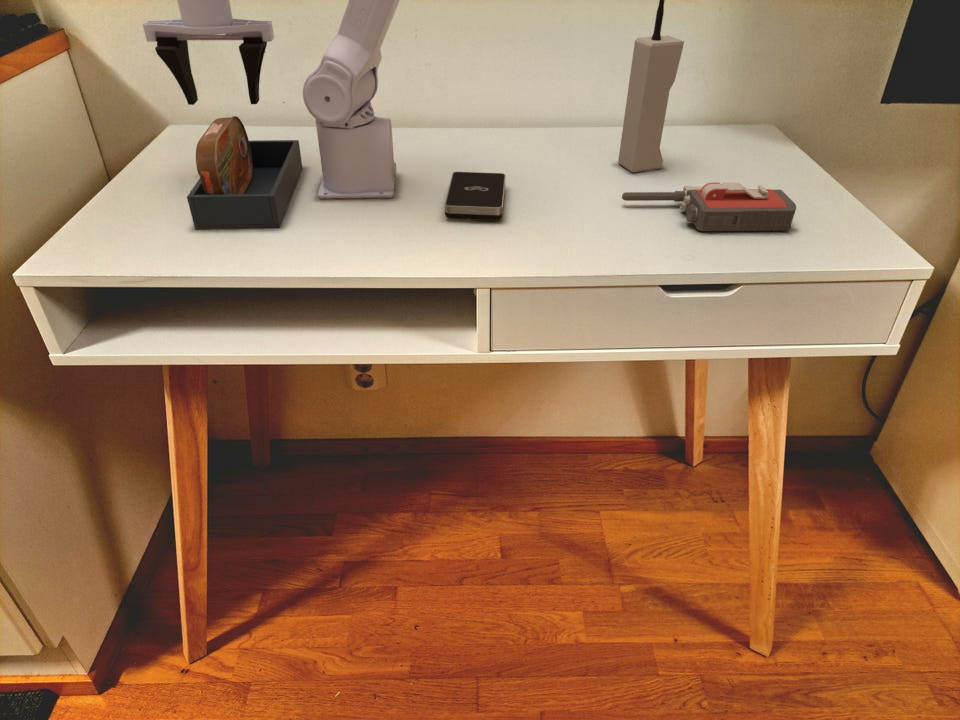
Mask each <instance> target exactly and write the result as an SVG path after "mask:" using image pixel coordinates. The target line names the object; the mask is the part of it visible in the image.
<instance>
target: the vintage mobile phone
mask: <svg viewBox="0 0 960 720" xmlns="http://www.w3.org/2000/svg"><path fill="white" fill-rule="evenodd" d="M665 1H666V0H659V2H658V7H657V9H656V15H655V22H654V27H653V33H652V35H651V36H642V37H637V38H636V39H635V40H634V44H633V52H632V58H631V59H632V60H631V66H630V73H629V81H628V87H627V95H626V103H625V108H624V117H623V124H622V131H621V139H620V146H619V154H618V161H617V163H618V164H619V165H620V166H621V167H623V168H625V170H627V171H629V172H630V173H632V174H634V173H639V172H648V171H654V170H660V169H661V168H662V167H663V163H664V158H663V155H662V151H661V143H662V137H663V130H664V126H665V119H666V114H667V109H668V103H669V97H670V91H671V89H672V87H673V85H674V83H675V81H676V77H677V74H678V69H679V65H680V61H681V58H682V54H683V49H684V46H685V45H684V44H685V41H684V40H683V39H679V38H678V37H677V38H676V37H674V36H671V35H662V33H661V32H662V25H663V19H664V13H665Z"/></svg>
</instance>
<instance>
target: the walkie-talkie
mask: <svg viewBox="0 0 960 720" xmlns="http://www.w3.org/2000/svg"><path fill="white" fill-rule="evenodd" d="M621 199H622V200H623V201H626V202H627V201H629V202H630V201H632V202H633V201H636V202H638V201H640V202H641V201H642V202H643V201H644V202H645V201H648V202H649V201H652V202H653V201H654V202H655V201H658V202H659V201H673V202H677V203H679V202H680V204H679V209H680V210H683V211H684V212H685V213H686V215H685V216H686V221H687V223H689V224H690V223H692V224H693V226H694V228H695V229H696V230H697V231H700V232H778V231H779V232H784V231H788V230H789V229H791V226H792V223H793V220H794V217H795V213H796V210H797V205H796V203H795V202H794V201H793V200H792V199H791V198H790V196H788V194H786V193H785V191H783V190H782V189H771V188H765V187H764V186H763V185H762V184H760V185H757V188H753V189H750V188H748V189H747V188H746V187H745V186H744V185H742V184H741V183H740V182H722V183H720V182H707V183H705V184H704V185H702V186H692V185H684V186H683V190H675V191H647V192H646V191H639V192H638V191H636V192H635V191H633V192H631V191H630V192H628V191H625V192H623V193H622V194H621Z"/></svg>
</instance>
